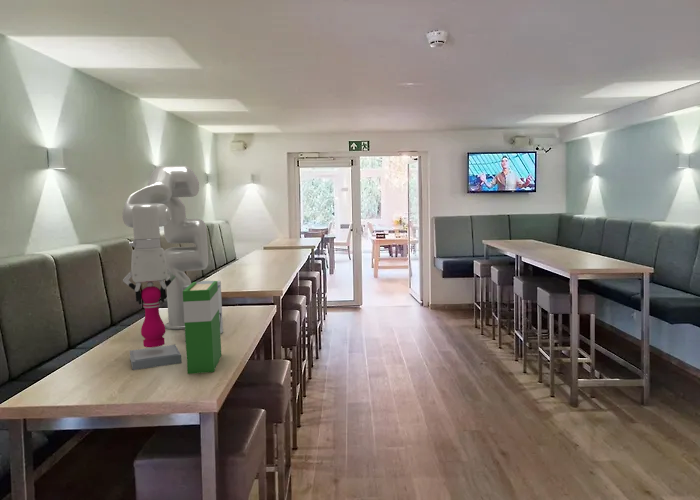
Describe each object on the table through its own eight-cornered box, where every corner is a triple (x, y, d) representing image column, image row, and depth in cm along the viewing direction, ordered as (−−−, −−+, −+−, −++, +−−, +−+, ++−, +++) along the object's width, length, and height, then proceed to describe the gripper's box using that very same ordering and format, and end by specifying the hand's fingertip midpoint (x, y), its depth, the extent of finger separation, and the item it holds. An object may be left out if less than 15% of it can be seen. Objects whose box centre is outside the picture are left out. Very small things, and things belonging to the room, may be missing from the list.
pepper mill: (138, 348, 166) (134, 283, 165) (145, 342, 174) (141, 280, 172) (163, 347, 167) (158, 282, 165) (168, 341, 174) (164, 279, 172)
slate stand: (130, 358, 174) (129, 349, 174) (175, 351, 180) (175, 343, 180) (132, 370, 162) (132, 361, 161) (181, 362, 167) (181, 354, 167)
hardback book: (197, 356, 174) (193, 282, 172) (221, 354, 175) (217, 280, 173) (187, 373, 157) (182, 291, 154) (214, 372, 157) (209, 289, 155)
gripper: (117, 247, 160) (121, 307, 162) (178, 243, 168) (181, 301, 169) (116, 245, 167) (120, 303, 169) (175, 242, 174) (178, 297, 176)
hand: (151, 301), depth 169 cm, fingers closed on pepper mill, 6 cm apart
